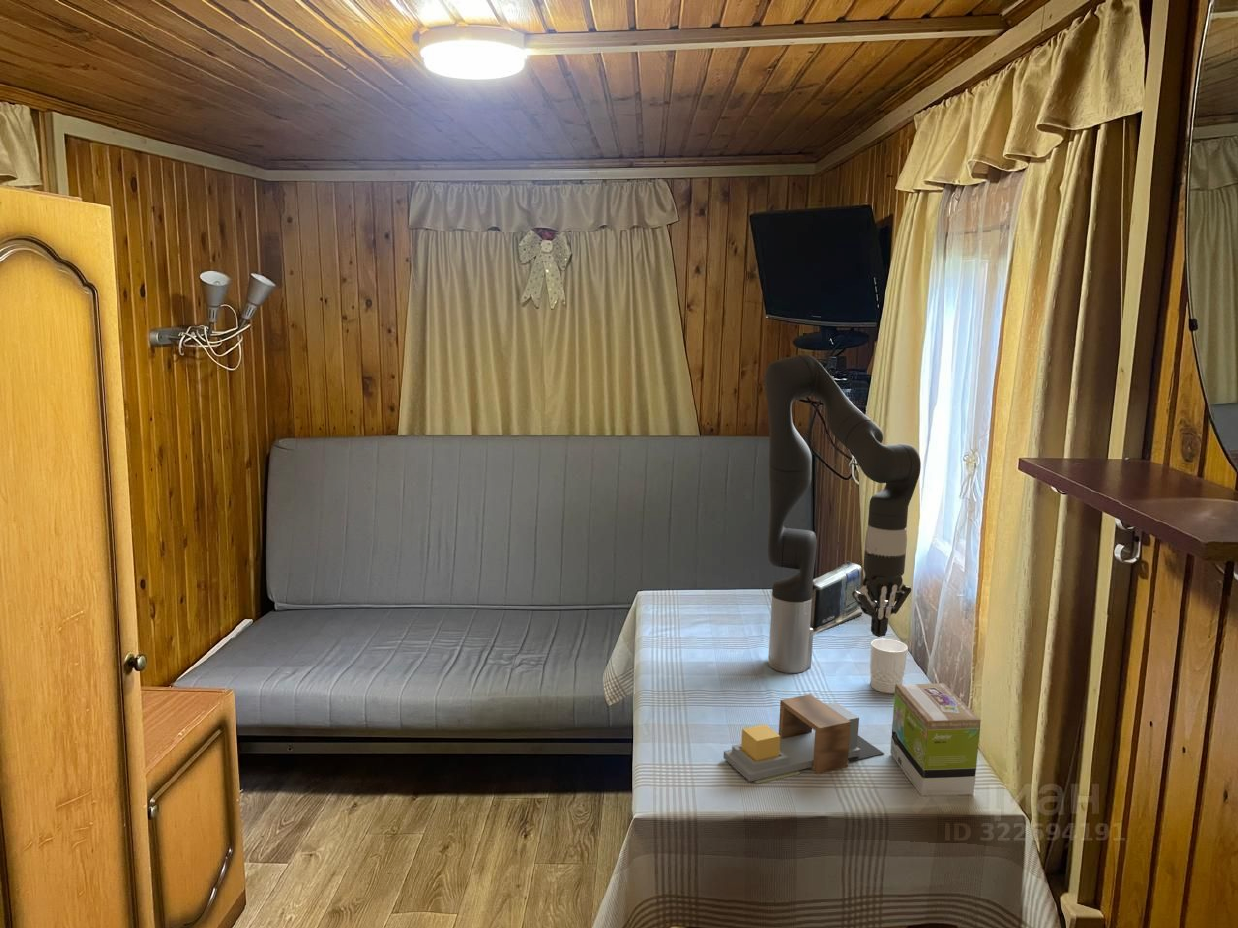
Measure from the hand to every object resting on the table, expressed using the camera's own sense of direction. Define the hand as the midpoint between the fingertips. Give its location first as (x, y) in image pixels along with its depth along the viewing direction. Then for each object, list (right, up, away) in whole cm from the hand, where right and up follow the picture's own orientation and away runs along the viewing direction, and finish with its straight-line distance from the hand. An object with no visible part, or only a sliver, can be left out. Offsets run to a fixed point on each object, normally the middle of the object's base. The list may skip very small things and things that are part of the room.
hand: (878, 635), depth 171 cm
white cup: (+10, -17, +29) cm, 35 cm away
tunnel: (-13, -22, -2) cm, 26 cm away
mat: (-23, -23, -6) cm, 33 cm away
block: (-24, -21, -7) cm, 33 cm away
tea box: (+7, -24, -8) cm, 26 cm away
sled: (-17, -22, -4) cm, 28 cm away
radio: (+8, -10, +69) cm, 70 cm away
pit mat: (-5, -22, +2) cm, 23 cm away
